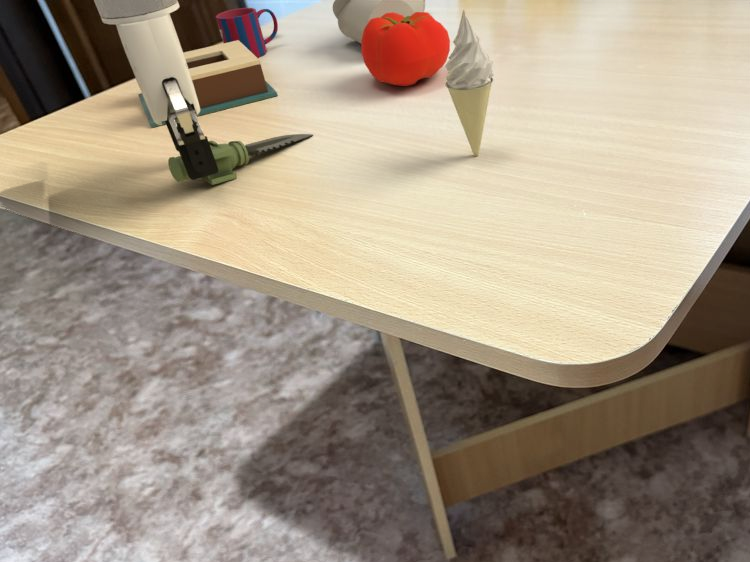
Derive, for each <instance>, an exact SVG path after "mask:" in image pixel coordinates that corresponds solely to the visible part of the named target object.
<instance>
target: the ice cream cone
mask: <svg viewBox="0 0 750 562" xmlns="http://www.w3.org/2000/svg"><path fill="white" fill-rule="evenodd" d="M480 41H481V38H480V37H479V36H478V34H477V33H476V32H475V31H474V29H473V27H472V24H471V23H470V21H469V19H468V16H467V14H466V11H465V9H462V14H461V18H460V22H459V26H458V30H457V34H456V36H455V38H454V39H453V41H452V43H453V44H454V48H453V51H452V52H451V53H450V54H449V55H448V59H449V60H448V61H447V62H446V63H445V64H444V67H445V69H446V70H447V71H448V72H447V75H446V77H445V78H446V82H445V88H446V89H447V91H448V93H449V95H450V97H451V100H452V103H453V106H454V108H455V111H456V113H457V115H458V118H459V121H460V123H461V126H462V128H463V131H464V133H465V136H466V138H467V141H468V143H469V146H470V149H471V151H472V154H473V156H474V157H478V156H479V155H480V150H481V145H482V139H483V134H484V128H485V121H486V117H487V111H488V105H489V100H490V95H491V89H492V85H493V82H494V78H493V77H494V69H493V60H492V59H491V57H490V55H489V53H488V52H487V51H486V50H484V49H483V48H482V45H481V44H480Z"/></svg>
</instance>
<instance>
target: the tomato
mask: <svg viewBox="0 0 750 562" xmlns="http://www.w3.org/2000/svg"><path fill="white" fill-rule="evenodd" d="M360 47H361V48H360V49H361V56H362V60H363V62H364V65H365V67H366V68H367V69H368V71H369V73H370V75H371V76H372V77H373V78H374V79H376V80H377V81H378V82H381V83H384V84H389V85H394V86H399V87H408V86H409V87H410V86H412V85H416V83H417V82H418V81H419V80H422V79H423V80H424V79H427V78H432V77H433V76H435V74H437V72H439V71H440V70H441V69H442V67H444V66H445V65H446V63H447V60H448V58H449V55H450V50H451V40H450V36H449V32H448V29H446V28H445V27H444V25H443V24H442V23H441V22H439V21H438V20H436V19H435V18H434V16H433V15H432V14H431V13H429V12H426V11H424V12H415V13H414V14H413V15H411V16H407V17H404V16H403V15H400V14H397V13H386V14H384V15H383V16H381V17H380V18H379V17H378V18H373V19H371V20H370V21H369V22H368V24H367V25H366V27H365V29H364V31H363V36H362V40H361V43H360Z"/></svg>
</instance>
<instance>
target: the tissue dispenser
mask: <svg viewBox="0 0 750 562" xmlns="http://www.w3.org/2000/svg"><path fill="white" fill-rule="evenodd" d="M183 54H184V57H185V60H186V63H187V66H188V69H189V72H190V75H191V78H192V82H193V85H194V88H195V92H196V95H197V99H198V102H199V106H200V110H201V111H200V112H199V114H198V115H196V116H197V117H200V116H204V115H208V114H211V113H216V112H220V111H224V110H228V109H231V108H236V107H239V106H244V105H248V104H251V103H255V102H259V101H263V100H268V99H271V98H275V97H278V92H277V91H276V90H275V88H273V87H272V86H271V84H269V83H268V81H267V80H266V78H265V75H264V72H263V67H262V64H261V60H260V59H259V57H258V58H257V57H256V56H255V55H254V54H253V53H252V52H250V51H249V50H248V49H247V48H246V47H245V46H244V45H243V44H242V43H241V42H240V41H239V40H237V41H232V42H228V43H220V44H215V45H210V46H206V47H202V48H198V49H193V50H189V51H183ZM137 97H138V98H139V100H140V103H141V106H142V107H143V110H144V113H145V115H146V118H147V120H148V122H149V125H150V128H157V127H161V126H164V125H166V123H165V121H162V125H158V124H156V123H155V122H154V120H153V118H152V116H151V114H150V111H149V109H148V107H147V104H146V102H145V100H144V97H143V95H142V92H140V93H138V94H137ZM188 109H189V107H188Z"/></svg>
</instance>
